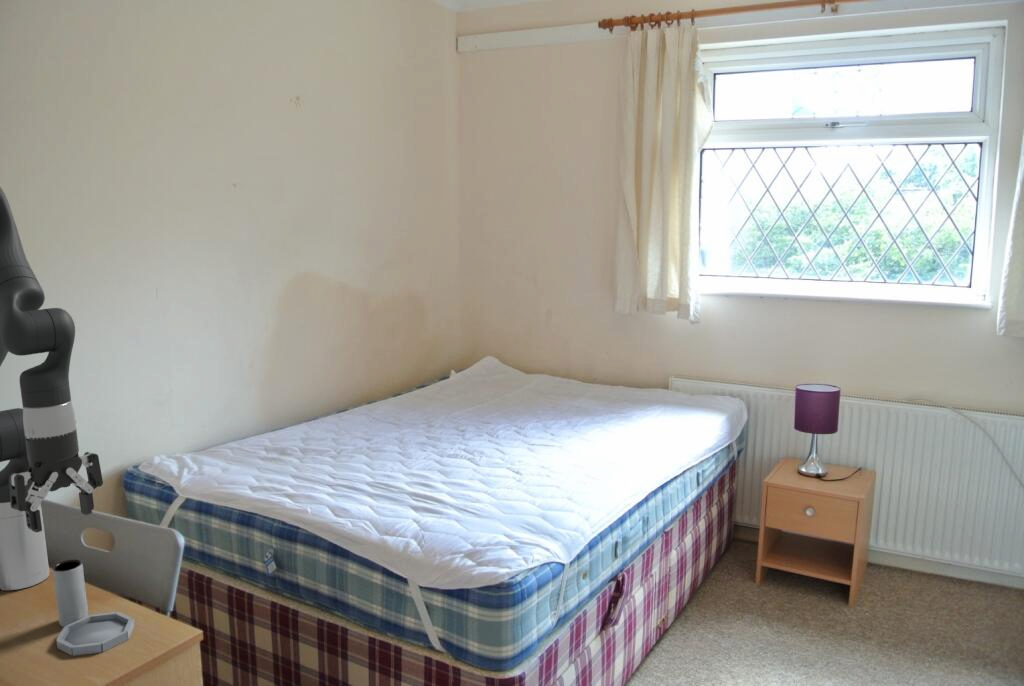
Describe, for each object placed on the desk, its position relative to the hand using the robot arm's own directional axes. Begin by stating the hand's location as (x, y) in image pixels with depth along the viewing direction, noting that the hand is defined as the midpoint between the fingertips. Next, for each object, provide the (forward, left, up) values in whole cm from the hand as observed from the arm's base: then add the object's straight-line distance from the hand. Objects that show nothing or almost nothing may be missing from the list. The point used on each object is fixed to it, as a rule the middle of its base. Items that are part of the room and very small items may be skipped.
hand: (62, 522), depth 140 cm
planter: (0, 0, -18) cm, 18 cm away
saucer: (+8, -1, -18) cm, 20 cm away
